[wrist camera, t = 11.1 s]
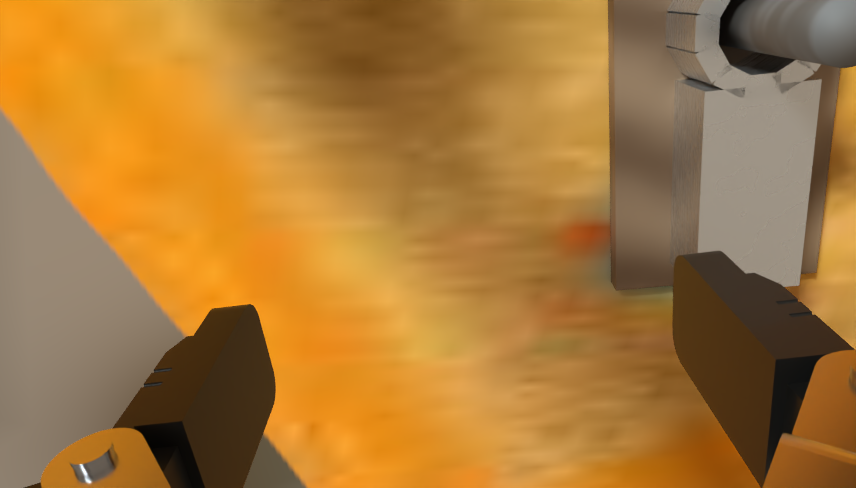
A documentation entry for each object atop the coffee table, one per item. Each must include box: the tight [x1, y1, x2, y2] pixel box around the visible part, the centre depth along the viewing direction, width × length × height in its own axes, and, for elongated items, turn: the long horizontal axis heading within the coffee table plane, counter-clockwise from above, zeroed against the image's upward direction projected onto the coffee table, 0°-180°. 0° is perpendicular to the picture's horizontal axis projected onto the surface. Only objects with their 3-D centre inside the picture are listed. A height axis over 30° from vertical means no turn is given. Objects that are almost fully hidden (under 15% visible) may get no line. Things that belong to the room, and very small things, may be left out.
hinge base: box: [608, 0, 856, 290], centre depth 27 cm, size 28×11×11 cm, turn 7°
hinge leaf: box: [666, 0, 822, 287], centre depth 31 cm, size 16×6×4 cm, turn 6°
